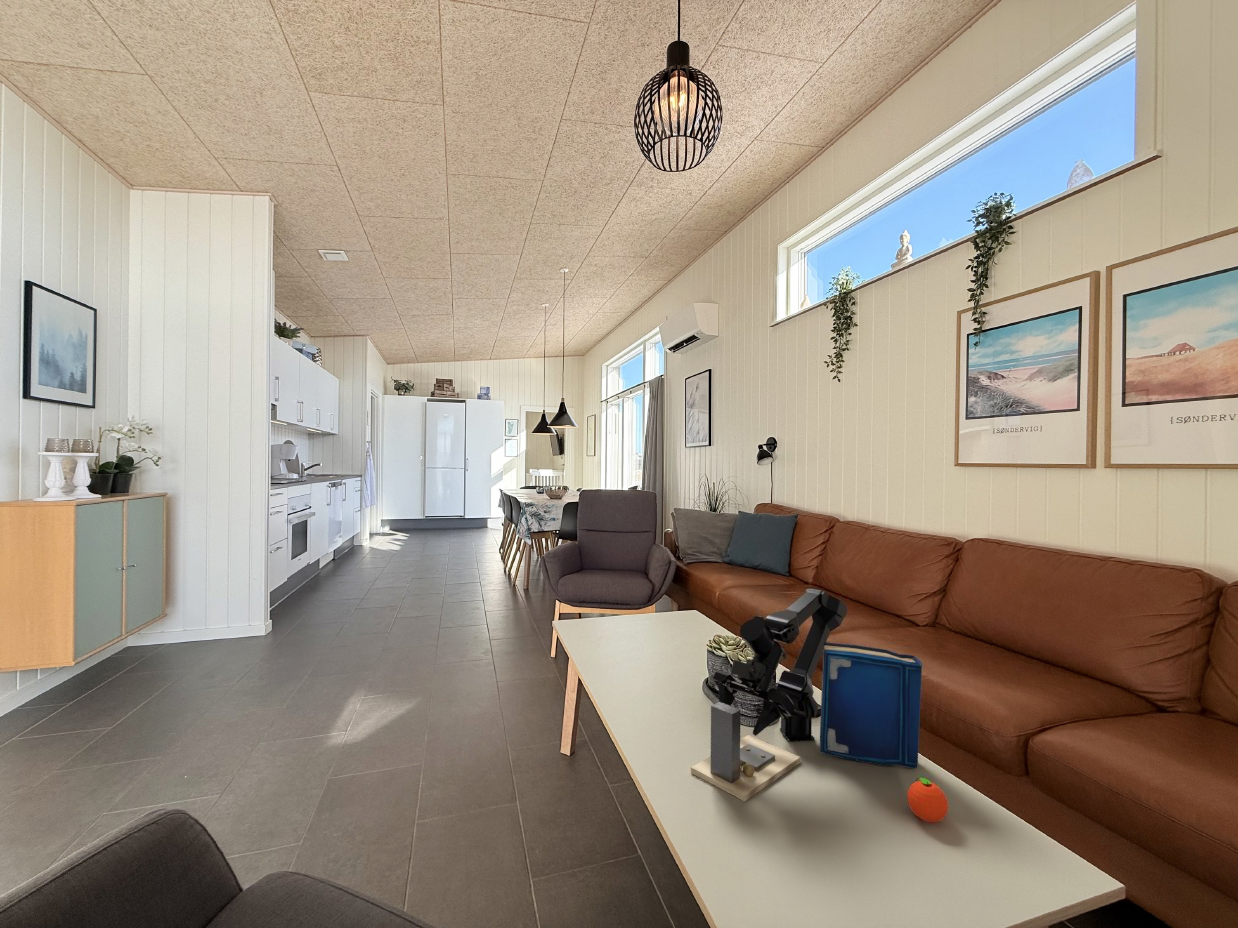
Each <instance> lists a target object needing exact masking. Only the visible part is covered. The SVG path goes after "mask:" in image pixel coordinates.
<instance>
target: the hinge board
mask: <svg viewBox="0 0 1238 928" xmlns="http://www.w3.org/2000/svg"><path fill="white" fill-rule="evenodd" d="M740 760H741V761H743V768H742V770H741V771H740V778H739V779H738V780H736V781H735V782H733V783H732V784H731V783H729V782H727V781H726V780H724V779H722V778H720V777H718V776H716V775H714V774H712V773H710V770H711V755H710V756H708V757H707V758H704V759H703V760H701V761H699V762H698V763H696V764H694V765H693V766H690V774H692V775H694V776H696V777H698V778H700V779H701V780H704V781H706V782H707V783H710V784H711V785H713V786H715V787H717V788H719V789H721V790H722V791H725V792H727V793H729V794H730V795H733V796H734V797H736V798H738V799H739V800H741V801H743V802H746V801H747V800H748V799H750V798H752V797H753V796H754V795H756V794H757V793H759V792H760V791H762V790H763V789H764V788H766V787H767V786H769V785H770V784H771V783H773V782H774V781H776V780H777V779H778V778H780V777H781V776H783V775H784V774H785V773H787V772H788V771H790V770H792V769H793V768H794V767H796V766H797V765H799V764H800V763H801V756H800V755H796V754H794V753H792V752H789V751H787V750H785V749H782V748H780V747H777V746H775V745H773V744H770V743H768V742H766V741H763V740H761V739H759V738H756V737H754V736H752V735H749V734H747V735H746V736H744V737H742V738H740Z"/></svg>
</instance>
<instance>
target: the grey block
mask: <svg viewBox="0 0 1238 928" xmlns="http://www.w3.org/2000/svg"><path fill="white" fill-rule="evenodd" d="M740 739H741V709H739V708H736V707H734V706H732V705H731V706H729V705H726V704H724V703H721V702H719V701H718V702H717V703H714V704H712V705H710V756H711V770H710V773H712V774H714V775H716V776H718V777H720V778H722V779H724V780H726V781H727V782H729V783H731V784H732V783H733V782H735V781H736V780H738V779H739V778H740V771H741V770H742V768H743V761H741V760H740Z"/></svg>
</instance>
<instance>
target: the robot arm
mask: <svg viewBox="0 0 1238 928" xmlns="http://www.w3.org/2000/svg"><path fill="white" fill-rule="evenodd" d="M847 614H848V607H847V605H846V604H845V602H844V600H842V599H840V598H838V597H835V596H833V595H831V594H829V593H828V592H826V591H825V590H822V589H817V588H811V587H809V588H807V589H806V590H805V591H804V594H803V595H801V596H800V597H799V598H797V599H796V600H795V601H794V602H793V603H792V604H790V606H788V607H787V608H786V609H784V610H780V611H779V610H778V611H774V612H773V613H772V612H771V613H770V614H768V615H767V616H766V617H765V618H764V617H763V616H760V615H757V614H756V615H754V617H753V618H752V619H749V620H746V621H745V622H744V623H742V624H741V626H740V629H739V635H740V637H741V638H742V641H744V642H745V644H746V645H747V646H748V649H750V651H751V652H753V653H754V655H753V656H752V659H747V660H746V662H743V661H740V660H738V659H733V661H732V665H731V669H730V673H728V672H725V671H722V670H717V671H715V672H714V673H713V676H712V677H711V680H712V682H713V683H714V685H715V687H716V688H717V689H718V694H719V698H718V699H719V700H718V702H721V703H724V704H726V705H729V706H732V704H733V702H734V701H735V699H736V696H734V695H736V694H737V693H738V692H740V693H741V694H744V695H748V696H751V697H752V698H753V697H754V698H756V699H758V700H761V701H762V709H761V712H760V714H759V716H758V718H757V720H756V723H755V725H754V728H753V731H752V735H754V736H756V737H757V736H758V735H759V734H760V733H762V732H763V731H764V730H765V729H766V728H768V726H770V725H771V724H773V723H774V722H775V721H777V720H778V719H780V728H779V731H780V732H781V733H782V735H784V737H785V738H786V739H787V740H788V741H789V742H791V743H794V742H795V743H796V742H808V741H815V736H813V735H812V725H813V723H812V720H813V719H812V718H816V716H817V714H818V711H819V704H818V702H817V701H816V699H815V698H814V697H813V696H814V687H813V682H812V679H813V676H814V674H815V672H816V669H817V667H818V664H819V661H820V658H821V657H822V655H823V648H824V642H825V643H828V642H827V641H828V639H829V636H830V635H831V632H832V631H834V630H836V629H837V628H839V627H840V626H841V625H842V623H843V621H844V620H845V618H846V616H847ZM810 617H811V620H812V623H811V625H810V627H809V630H808V633H807V635H806V637H805V640H804V641H803V644H802V647H801V648H800V651H799V654H798V656H797V658H796V660H795V663H794V666H793V667H792V669H791V670H786V669H785V670H783V671H782V672H781V675H780V677H779V679H778V681H777V682H776V679H777V677H776V675H775V673H776V671H777V668H778V666H779V664H780V662H781V659H784V660H785V659H787V654H786V651H785V647H784V646H782V645H780V643H783V644H787V645H791V644H793V642H794V641H795V640H796V639H797V638H798V636H799V635H800V627H801V625H803V624H804V622H806V621H807V620H808V619H809V618H810ZM779 642H780V643H779ZM733 675H736V676H737V679H738V680H739V681H740V682H739V681H737V680H736V679H735V678H734V677H733ZM772 682H776V686H775V688H773V687H772V688H769V687H770V685H771V683H772Z"/></svg>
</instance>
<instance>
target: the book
mask: <svg viewBox="0 0 1238 928" xmlns="http://www.w3.org/2000/svg"><path fill="white" fill-rule="evenodd" d="M922 670H923V663H922V661H921V660H920V659H919V658H918V657H917V656H914V655H911V654H903V653H902V654H901V653H897V652H894V651H891V650H888V649H885V648H884V649H883V648H878V647H872V646H871V647H870V646H865V645H864V646H863V645H858V644H857V645H856V644H849V643H837V642H836V643H835V642H826V643H825V642H824V648H823V652H822V677H821V678H822V679H821V696H820V697H821V701H820V703H821V704H820V724H819V725H820V726H819V753H820V754H825V755H829V756H834V757H839V758H842V759H846V760H850V761H855V762H860V761H861V763H866V762H867V764H873V765H878V764H879V765H880V766H884V765H886V766H896V765H898V766H900V767H904V768H907V769H908V768H909V769H917V767H918V763H919V743H920V723H921V722H920V720H921V718H920V717H921V698H922V697H921V695H922V676H923V675H922V674H923V673H922V672H923V671H922ZM879 765H878V766H879Z"/></svg>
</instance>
